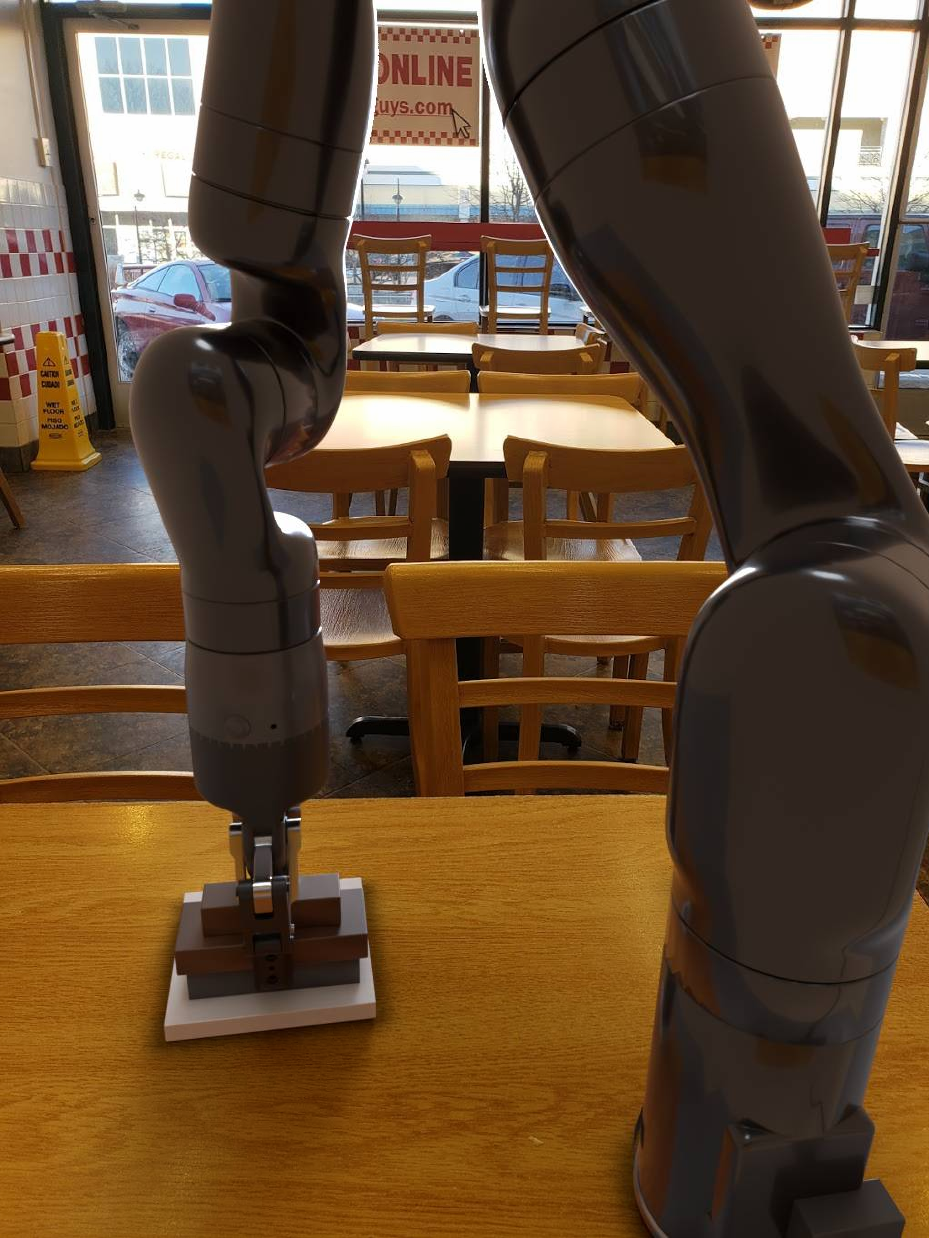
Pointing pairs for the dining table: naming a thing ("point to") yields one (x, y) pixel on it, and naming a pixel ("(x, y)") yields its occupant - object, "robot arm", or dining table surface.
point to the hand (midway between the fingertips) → (275, 955)
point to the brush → (321, 935)
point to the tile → (267, 1003)
